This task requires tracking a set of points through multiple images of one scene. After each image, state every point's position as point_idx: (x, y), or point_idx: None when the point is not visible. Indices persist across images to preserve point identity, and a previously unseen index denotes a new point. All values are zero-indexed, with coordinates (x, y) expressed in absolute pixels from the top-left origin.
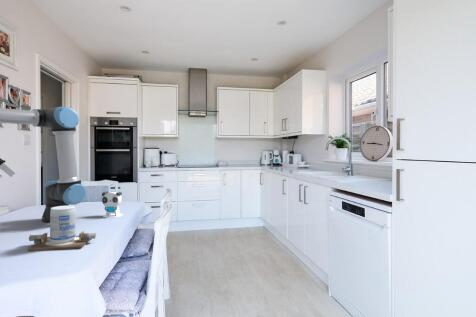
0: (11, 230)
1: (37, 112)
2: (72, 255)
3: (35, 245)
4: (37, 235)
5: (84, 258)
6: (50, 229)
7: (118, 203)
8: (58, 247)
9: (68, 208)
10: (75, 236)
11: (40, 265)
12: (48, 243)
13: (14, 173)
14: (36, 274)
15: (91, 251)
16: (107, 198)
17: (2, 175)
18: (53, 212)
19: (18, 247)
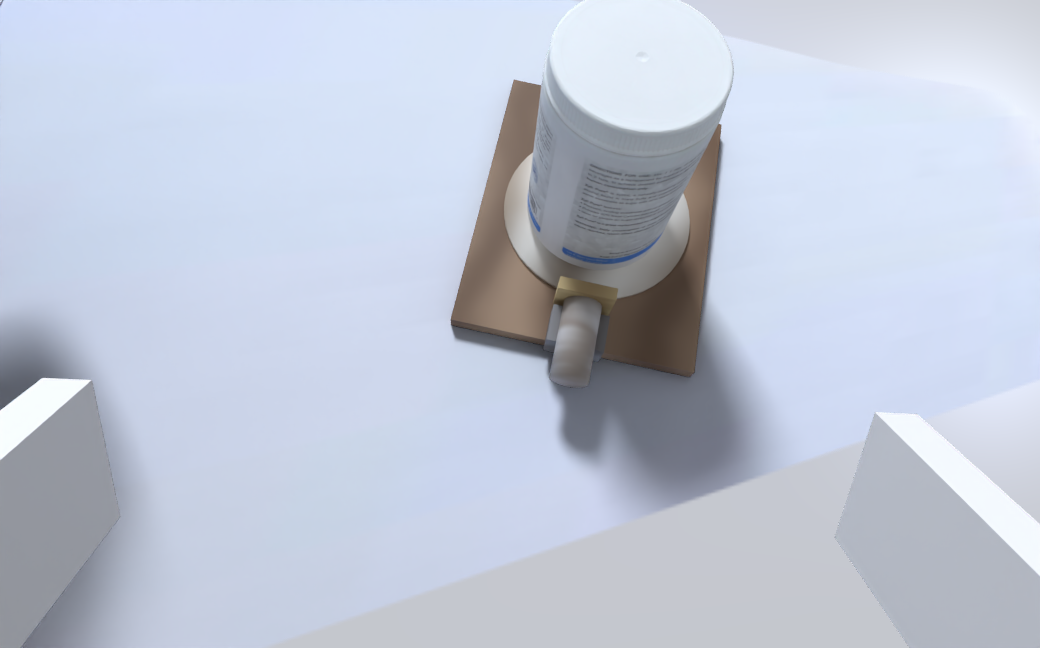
0: None
1: None
2: (810, 159)
3: (637, 345)
4: (585, 330)
5: (861, 111)
6: (649, 225)
7: None
8: (710, 221)
9: (706, 20)
10: (524, 160)
11: (924, 266)
12: (632, 279)
13: (97, 416)
14: (1027, 260)
15: (768, 90)
16: None
17: (916, 422)
18: (713, 125)
19: (593, 452)
